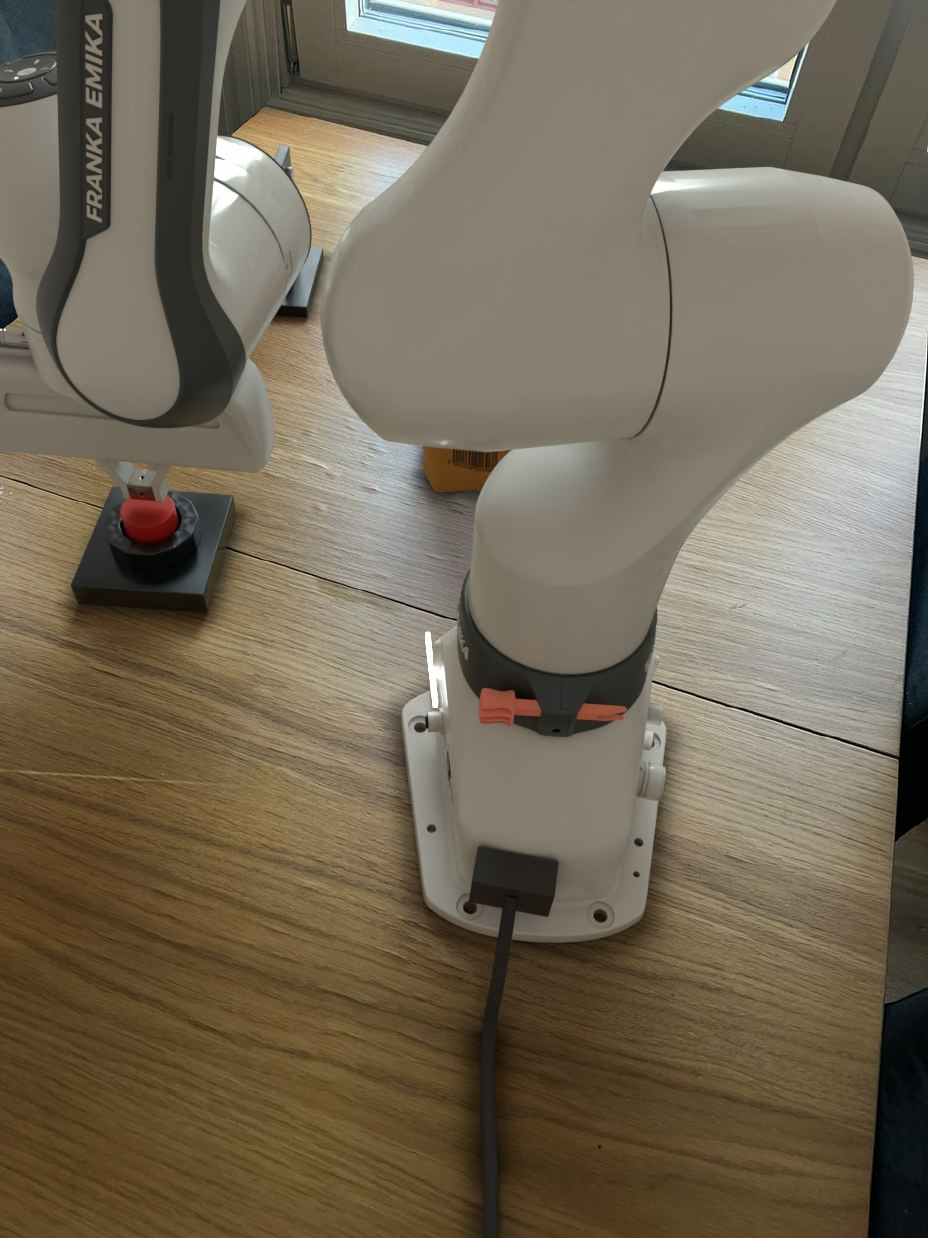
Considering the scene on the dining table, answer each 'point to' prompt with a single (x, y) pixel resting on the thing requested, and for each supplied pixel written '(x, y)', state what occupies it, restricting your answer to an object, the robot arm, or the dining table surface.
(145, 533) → the stop button
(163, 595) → the button box
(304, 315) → the bracket
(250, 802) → the dining table surface
